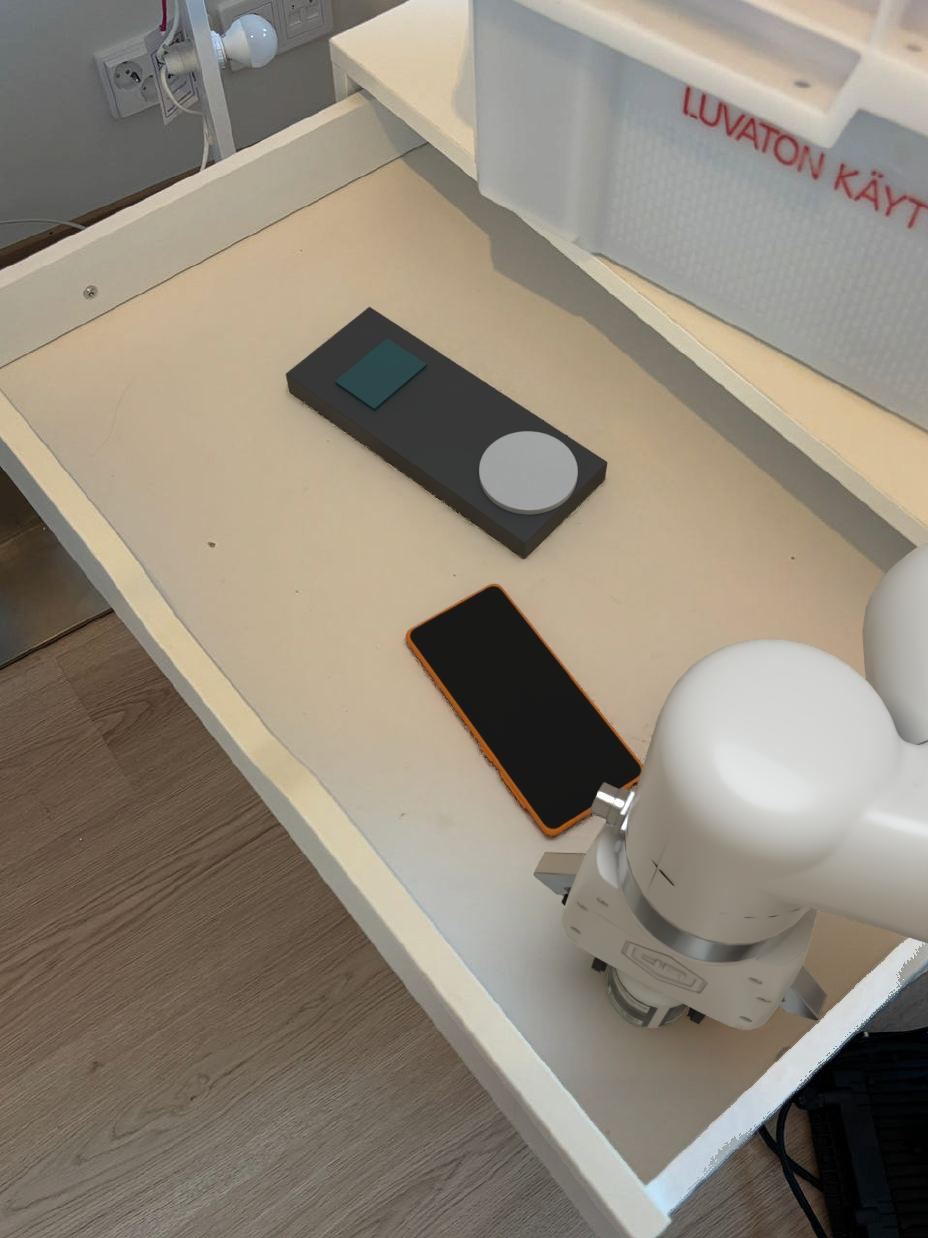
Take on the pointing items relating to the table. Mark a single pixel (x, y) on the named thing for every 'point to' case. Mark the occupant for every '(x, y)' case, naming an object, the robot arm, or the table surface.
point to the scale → (448, 430)
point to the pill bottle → (641, 1001)
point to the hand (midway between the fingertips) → (656, 969)
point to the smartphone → (523, 707)
